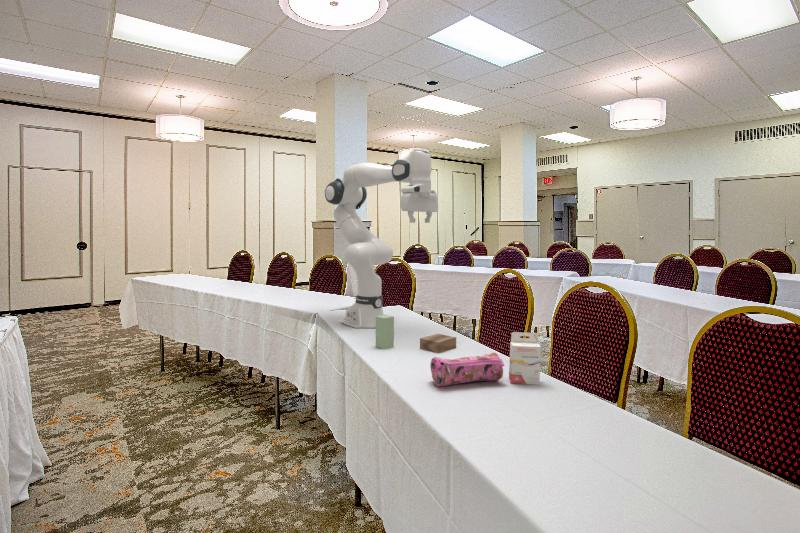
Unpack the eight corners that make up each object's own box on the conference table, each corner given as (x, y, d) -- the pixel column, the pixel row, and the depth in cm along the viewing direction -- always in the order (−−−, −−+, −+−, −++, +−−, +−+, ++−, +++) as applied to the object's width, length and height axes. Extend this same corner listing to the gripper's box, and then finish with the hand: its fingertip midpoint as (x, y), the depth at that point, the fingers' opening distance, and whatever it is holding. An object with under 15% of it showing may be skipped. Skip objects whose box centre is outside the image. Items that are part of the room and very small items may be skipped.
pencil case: (438, 391, 135) (438, 361, 134) (428, 381, 144) (428, 352, 143) (506, 385, 141) (507, 356, 140) (492, 375, 149) (493, 348, 149)
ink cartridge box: (510, 383, 141) (512, 335, 140) (508, 378, 146) (509, 331, 145) (540, 384, 141) (541, 336, 139) (537, 379, 146) (538, 332, 144)
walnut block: (419, 348, 181) (419, 338, 180) (437, 343, 189) (437, 333, 188) (438, 353, 174) (438, 342, 174) (456, 347, 182) (456, 337, 182)
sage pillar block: (375, 346, 183) (375, 316, 182) (384, 344, 187) (384, 314, 185) (384, 349, 180) (384, 318, 178) (393, 346, 183) (393, 316, 182)
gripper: (430, 190, 205) (430, 222, 207) (398, 188, 191) (398, 222, 192) (441, 190, 201) (441, 222, 202) (409, 187, 186) (409, 222, 187)
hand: (420, 222), depth 197 cm, fingers open, 8 cm apart
